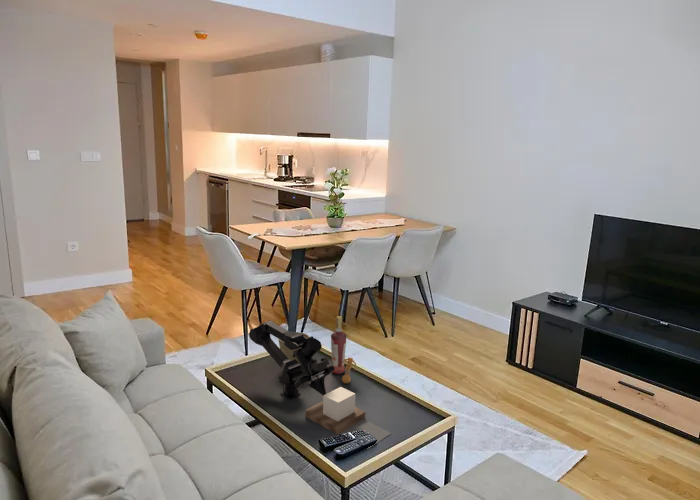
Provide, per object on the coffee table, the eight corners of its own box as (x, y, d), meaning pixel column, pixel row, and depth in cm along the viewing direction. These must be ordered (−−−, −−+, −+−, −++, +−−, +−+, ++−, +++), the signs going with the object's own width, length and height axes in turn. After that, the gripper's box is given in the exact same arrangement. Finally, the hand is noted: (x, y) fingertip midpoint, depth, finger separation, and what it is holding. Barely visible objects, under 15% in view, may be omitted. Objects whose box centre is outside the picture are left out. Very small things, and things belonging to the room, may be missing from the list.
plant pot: (315, 369, 247) (315, 338, 243) (290, 378, 237) (290, 346, 234) (297, 359, 258) (297, 329, 254) (272, 367, 248) (272, 336, 245)
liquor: (347, 374, 242) (349, 318, 236) (332, 376, 240) (334, 320, 234) (342, 368, 249) (343, 313, 243) (328, 370, 247) (329, 315, 240)
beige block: (323, 413, 202) (323, 395, 200) (340, 404, 209) (340, 386, 208) (337, 421, 197) (338, 402, 195) (354, 411, 204) (355, 393, 202)
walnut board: (305, 416, 205) (305, 410, 204) (332, 402, 217) (333, 396, 216) (337, 434, 193) (337, 427, 193) (365, 418, 205) (365, 411, 204)
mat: (339, 433, 194) (339, 433, 194) (363, 419, 204) (363, 419, 204) (367, 449, 185) (367, 448, 185) (391, 433, 195) (391, 433, 195)
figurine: (336, 381, 235) (337, 357, 233) (344, 377, 240) (345, 353, 237) (350, 387, 230) (351, 362, 228) (358, 382, 235) (359, 358, 232)
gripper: (299, 359, 200) (318, 395, 196) (332, 346, 214) (351, 379, 209) (286, 371, 207) (304, 406, 202) (318, 358, 221) (336, 390, 216)
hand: (324, 395), depth 207 cm, fingers closed
